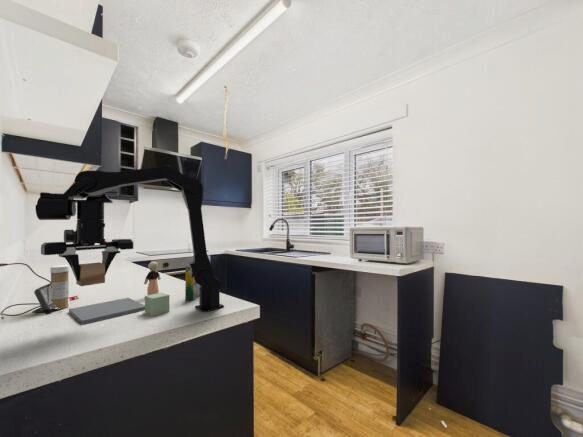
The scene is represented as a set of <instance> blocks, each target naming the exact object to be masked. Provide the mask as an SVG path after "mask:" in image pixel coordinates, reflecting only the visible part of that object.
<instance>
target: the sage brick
mask: <svg viewBox="0 0 583 437" xmlns="http://www.w3.org/2000/svg"><path fill="white" fill-rule="evenodd" d="M144 305H145V310H144V313H145V314H147V315H149V316H151V317H154V316H157V315H160V314H161V315H162V314H165V313H170V294H167V293H165V292H159V293H157V294H152V295H147V294H146V295H144Z"/></svg>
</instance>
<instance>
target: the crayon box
mask: <svg viewBox="0 0 583 437" xmlns="http://www.w3.org/2000/svg"><path fill="white" fill-rule="evenodd" d="M189 273H190V266H189V265H187V266H185V284H184V285H185V289H184V291H185V293H184V295H185V296H184V298H185V299H184V300H185V301H189V302H190V301H194V300H195V299H197V298H198V297H199V287H201V286H200V285H199V284H197V283H196V282H195V280H194V279H193V277H191V276H190V274H189Z"/></svg>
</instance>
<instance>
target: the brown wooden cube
mask: <svg viewBox="0 0 583 437" xmlns="http://www.w3.org/2000/svg"><path fill="white" fill-rule="evenodd" d="M79 270H80V278H79V281H77V280H76V279H75V281H76V282H75V283H76V285H77V286H80V287H87V286H94V285H99V284H105V283H106V275H105V264H104V263H102V262H99V261H98V262H89V263H79Z"/></svg>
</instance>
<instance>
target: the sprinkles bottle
mask: <svg viewBox="0 0 583 437" xmlns="http://www.w3.org/2000/svg"><path fill="white" fill-rule="evenodd" d="M49 268H50V269H49V272H50V290H49V293H50V294H49V295H50V296H49V298H50V302H51V301H52V302H53V303H54V304H55V305H56V306H57V307H58V308H60V309H59V310H62V309H66V308H68V307H69V294H70V293H69V292H70V291H69V289H70V288H69V287H70V285H69V284H70V282H69V272H70V265H69V264H60V265H52V266H50V267H49Z"/></svg>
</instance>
